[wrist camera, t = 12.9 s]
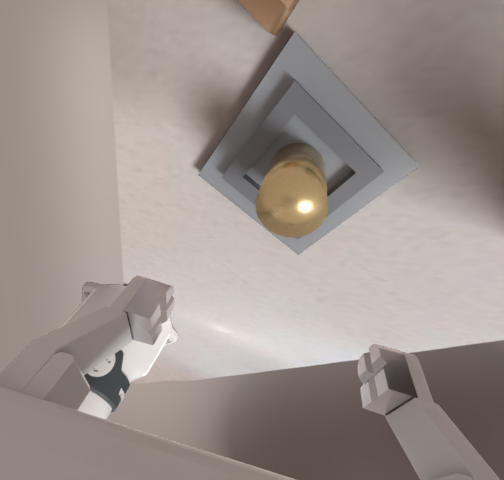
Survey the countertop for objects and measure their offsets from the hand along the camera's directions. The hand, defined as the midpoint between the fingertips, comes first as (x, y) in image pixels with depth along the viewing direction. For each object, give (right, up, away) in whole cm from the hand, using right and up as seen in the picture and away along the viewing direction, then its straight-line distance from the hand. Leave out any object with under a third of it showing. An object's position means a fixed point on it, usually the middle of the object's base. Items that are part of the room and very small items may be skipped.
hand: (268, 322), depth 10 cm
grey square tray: (+4, +10, +13) cm, 17 cm away
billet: (+3, +10, +13) cm, 16 cm away
